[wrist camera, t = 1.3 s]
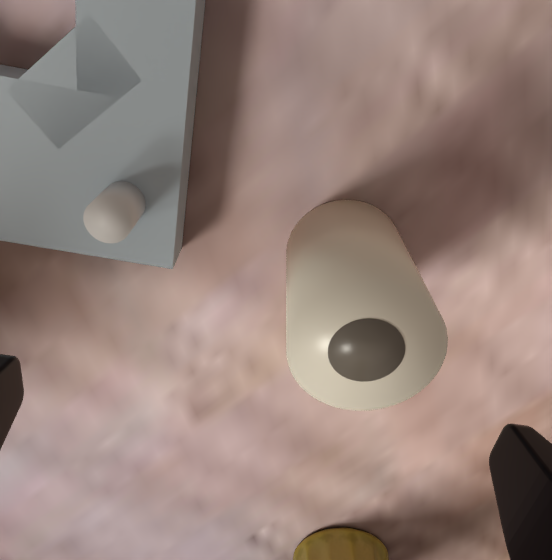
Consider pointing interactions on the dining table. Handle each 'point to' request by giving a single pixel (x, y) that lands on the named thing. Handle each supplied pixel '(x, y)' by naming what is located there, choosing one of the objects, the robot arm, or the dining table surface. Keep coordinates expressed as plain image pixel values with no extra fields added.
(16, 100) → the jig
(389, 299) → the bushing
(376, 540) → the vase
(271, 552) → the dining table surface
